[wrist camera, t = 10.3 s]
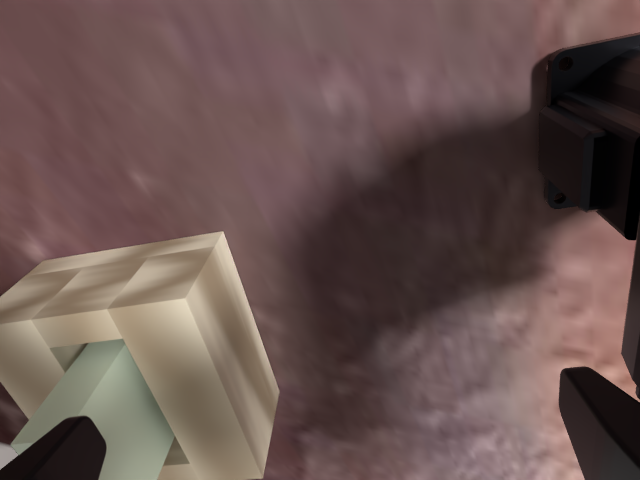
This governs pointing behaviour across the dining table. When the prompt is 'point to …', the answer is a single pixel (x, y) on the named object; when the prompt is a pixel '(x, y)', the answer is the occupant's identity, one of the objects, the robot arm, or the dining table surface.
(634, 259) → the robot arm
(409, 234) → the dining table surface
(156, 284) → the hollow square frame
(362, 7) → the dining table surface
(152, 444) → the green rectangular block
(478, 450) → the dining table surface
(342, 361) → the dining table surface
